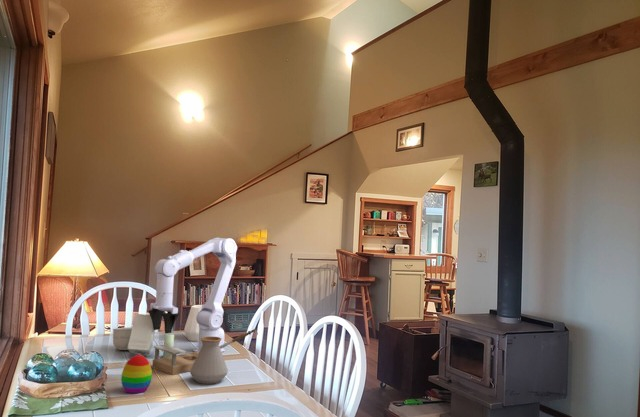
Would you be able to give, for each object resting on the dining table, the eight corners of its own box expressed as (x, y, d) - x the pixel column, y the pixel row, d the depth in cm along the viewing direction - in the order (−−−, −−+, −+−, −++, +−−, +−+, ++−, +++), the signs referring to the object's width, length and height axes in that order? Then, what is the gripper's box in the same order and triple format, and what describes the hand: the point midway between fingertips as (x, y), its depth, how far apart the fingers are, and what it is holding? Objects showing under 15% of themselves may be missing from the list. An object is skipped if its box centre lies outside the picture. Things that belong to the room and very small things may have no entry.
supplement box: (148, 350, 172) (155, 315, 178) (126, 348, 170) (134, 313, 176) (150, 354, 178) (157, 320, 184) (129, 353, 177) (137, 318, 183)
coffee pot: (195, 387, 144) (199, 336, 145) (185, 377, 154) (188, 329, 155) (262, 380, 155) (264, 332, 156) (248, 370, 165) (250, 325, 166)
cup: (205, 334, 218) (207, 303, 219) (221, 340, 208) (223, 307, 209) (177, 337, 209) (180, 305, 210) (193, 343, 199) (195, 309, 200)
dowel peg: (169, 355, 179) (170, 333, 179) (174, 357, 177) (176, 335, 177) (161, 357, 176) (162, 334, 177) (166, 359, 174) (167, 336, 174)
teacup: (105, 350, 181) (106, 328, 182) (128, 346, 191) (128, 325, 192) (134, 353, 175) (134, 330, 176) (155, 348, 185) (156, 326, 186)
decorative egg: (115, 394, 135) (118, 357, 135) (127, 385, 143) (129, 350, 144) (145, 395, 135) (147, 359, 135) (154, 386, 143) (157, 352, 144)
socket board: (197, 358, 177) (198, 339, 177) (218, 365, 169) (219, 345, 169) (152, 367, 163) (153, 346, 163) (172, 375, 155) (174, 352, 155)
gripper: (143, 291, 176) (141, 329, 175) (166, 296, 167) (163, 336, 166) (160, 290, 182) (158, 327, 181) (183, 294, 172) (181, 333, 172)
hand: (162, 331), depth 174 cm, fingers open, 7 cm apart
